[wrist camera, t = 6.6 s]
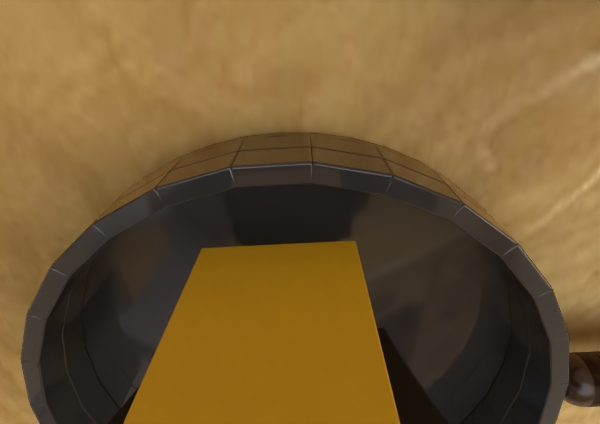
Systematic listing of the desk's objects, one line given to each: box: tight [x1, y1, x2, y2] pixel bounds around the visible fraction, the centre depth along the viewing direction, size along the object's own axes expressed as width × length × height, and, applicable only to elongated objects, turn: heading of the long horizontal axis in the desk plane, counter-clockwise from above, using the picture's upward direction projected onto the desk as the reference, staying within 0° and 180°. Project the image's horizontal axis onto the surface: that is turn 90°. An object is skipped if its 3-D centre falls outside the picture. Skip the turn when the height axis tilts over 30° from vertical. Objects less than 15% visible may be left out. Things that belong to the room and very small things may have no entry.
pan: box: [21, 133, 569, 424], centre depth 15 cm, size 18×18×3 cm
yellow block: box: [123, 241, 400, 424], centre depth 9 cm, size 6×4×6 cm
